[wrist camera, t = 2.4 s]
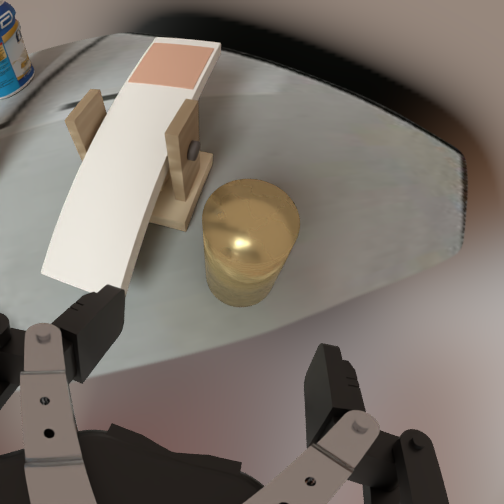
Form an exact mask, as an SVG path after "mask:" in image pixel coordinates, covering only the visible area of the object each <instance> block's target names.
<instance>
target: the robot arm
mask: <svg viewBox="0 0 504 504" xmlns="http://www.w3.org/2000/svg"><path fill="white" fill-rule="evenodd" d="M124 310H125V290H124V289H121V288H118V287H115V286H112V285H109V284H107V285H105V286H104V287H103V288H102V289H101V290H100V291H99V292H97V293H96V292H91V293H89V294H86V295H83V296H82V297H81V298H80V299H79V300H77V301H76V303H74V304H73V305H72V306H70V308H68V309H67V310H66V311H65V312H64V313H63V314H61V315H60V316H59V317H58V318H57V319H56V320H55V321H54V322H53V323H51V324H49V323H39V324H35V325H33V326H31V327H29V328H28V329H27V331H24V330H19V329H14V328H10V324H9V320H8V318H7V317H6V316H5V315H4V314H1V313H0V410H1V408H2V407H3V406H4V404H5V403H6V401H7V400H8V399H9V398H10V396H11V395H12V394H13V393H14V391H15V390H16V389H17V387H18V386H19V385H20V395H21V396H20V397H21V417H22V429H23V430H22V431H23V440H24V449H21V450H18V451H14V452H11V453H7V454H4V455H0V504H327V503H328V502H329V501H330V499H331V498H332V497H333V496H334V495H335V494H336V492H337V491H338V490H339V489H340V487H341V486H342V485H343V484H344V483H345V481H346V480H350V481H353V482H356V483H359V484H362V485H363V497H364V504H449V502H448V497H447V493H446V490H445V486H444V482H443V478H442V475H441V471H440V467H439V464H438V461H437V457H436V454H435V450H434V447H433V444H432V441H431V440H430V438H429V437H428V436H427V435H426V434H424V433H423V432H420V431H418V430H415V429H410V430H406V431H404V432H403V433H402V434H401V436H400V437H398V436H395V435H391V434H389V433H386V432H383V431H381V430H380V427H379V424H378V422H377V421H376V419H375V418H374V417H373V416H371V415H370V414H368V413H366V411H365V407H364V403H363V399H362V395H361V391H360V388H359V383H358V381H357V376H356V372H355V369H354V368H353V367H352V365H351V364H350V363H349V361H346V360H342V356H341V352H340V348H339V347H338V346H333V345H328V344H323V343H321V344H320V345H319V346H318V348H317V351H316V353H315V355H314V357H313V360H312V362H311V364H310V366H309V368H308V371H307V373H306V376H305V381H304V396H305V416H306V440H307V448H308V449H307V450H305V451H304V452H303V453H302V454H301V455H300V456H299V457H298V458H297V459H296V460H295V461H293V462H292V463H291V464H290V465H289V466H288V467H287V468H286V469H285V470H283V471H282V472H281V473H280V474H279V475H278V476H276V477H275V478H274V479H273V480H272V481H270V482H269V483H268V484H267V485H266V486H264V485H262V484H261V483H260V482H259V481H257V480H256V479H254V478H253V477H251V476H249V475H247V474H246V473H243V472H241V471H240V469H241V464H242V463H241V462H237V461H232V460H228V459H224V458H219V457H215V456H211V455H199V454H186V453H175V452H171V451H169V450H167V449H166V448H164V447H162V446H160V445H158V444H156V443H155V442H153V441H152V440H150V439H148V438H147V437H145V436H143V435H141V434H138V433H135V432H133V431H130V430H128V429H125V428H123V427H120V426H118V425H115V424H111V426H110V428H109V430H108V431H103V430H83V431H78V428H77V424H76V420H75V415H74V410H73V405H72V399H71V394H70V389H69V383H70V382H71V381H72V380H75V381H77V382H80V383H83V382H84V381H85V380H86V378H87V377H88V376H89V374H90V373H91V372H92V370H93V369H94V368H95V366H96V365H97V364H98V362H99V361H100V360H101V358H102V357H103V356H104V355H105V353H106V352H107V351H108V349H109V348H110V347H111V345H112V344H113V343H114V342H115V340H116V339H117V338H118V336H119V335H120V333H121V331H122V329H123V325H124Z"/></svg>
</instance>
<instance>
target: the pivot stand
mask: <svg viewBox="0 0 504 504" xmlns="http://www.w3.org/2000/svg"><path fill="white" fill-rule="evenodd" d="M106 115H107V113H106V110H105V106H104V103H103V99H102V95H101V92H100V90H98V89H90V90H89V92H88V93H87V94H86V95H85V96H84V97H83V99H82V100H81V101H80V102H79V103H78V104H77V106H76V107H75V108H74V109H73V111H72V112H71V113H70V114H69V116H68V117H67V118H66V119H65V123H66V125H67V127H68V130H69V132H70V135H71V137H72V139H73V142H74V144H75V146H76V148H77V151H78V153H79V155H80V157H81V160H82V162H83V159H84V157H85V155H86V153H87V151H88V149H89V147H90V145H91V143H92V141H93V139H94V137H95V135H96V133H97V131H98V129H99V127H100V126H101V124H102V122H103V120H104V118H105V116H106ZM164 134H165V141H166V148H167V155H168V161H169V169H168V172H167V174H166V177H165V179H164V182H163V185H162V187H161V190H160V193H159V195H158V198H157V201H156V204H155V206H154V209H153V212H152V215H151V218H150V221H149V222H150V223H154V224H158V225H162V226H166V227H170V228H174V229H177V230H181V231H185V232H186V230H187V228H188V225H189V222H190V220H191V217H192V214H193V212H194V209H195V207H196V204H197V202H198V199H199V196H200V194H201V191H202V189H203V186H204V184H205V181H206V179H207V176H208V174H209V172H210V169H211V167H212V164H213V154H212V153H207V152H202V151H200V142H199V111H198V101H197V100H191V99H185V101H184V102H183V104H182V105H181V107H180V109H179V110H178V112H177V113H176V115H175V117H174V118H173V120H172V122H171V123H170V125H169V127H168V128H167V130H166V132H165V133H164Z"/></svg>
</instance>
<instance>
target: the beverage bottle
mask: <svg viewBox="0 0 504 504" xmlns="http://www.w3.org/2000/svg"><path fill="white" fill-rule="evenodd" d="M15 13H16V12H15V10H14V8H13V7H12V6H11V5H10V4H8V3H7V2H5V1H3V0H0V99H5V98H8V97H10V96H12V95H14V94H16V93H17V92H19V91H20V90H22V89H23V88H24V87H25V86H26V85H27V84H28V83H29V82H30V81H31V80H32V78H33V76H34V68H33V66H32V64H31V62H30V59H29V57H28V54H27V51H26V48H25V45H24V41H23V38H22V35H21V32H20V28H21V26H20V23H19V21H17V20H16V19H15Z"/></svg>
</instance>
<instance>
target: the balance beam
mask: <svg viewBox="0 0 504 504" xmlns="http://www.w3.org/2000/svg"><path fill="white" fill-rule="evenodd" d="M220 54H221V43H216V42H208V41H199V40H189V39H178V38H163V37H156V38H155V39H154V41H153V42H152V43H151V45H150V46H149V48H148V49H147V50H146V52H145V53H144V55H143V56H142V58H141V59H140V61H139V62H138V64H137V65H136V67H135V68H134V70H133V71H132V73H131V74H130V76H129V77H128V79H127V81H126V82H125V84H124V85H123V87H122V89H121V90H120V92H119V94H118V95H117V97H116V99H115V101H114V102H113V104H112V106H111V107H110V109H109V111H108V113H107V115H106V116H105V118H104V120H103V122H102V124H101V126H100V127H99V129H98V131H97V133H96V135H95V137H94V139H93V141H92V143H91V145H90V147H89V149H88V151H87V153H86V155H85V157H84V159H83V162H82V164H81V166H80V168H79V170H78V173H77V175H76V177H75V179H74V182H73V184H72V186H71V189H70V191H69V193H68V196H67V198H66V201H65V203H64V206H63V208H62V211H61V214H60V216H59V219H58V222H57V224H56V227H55V230H54V233H53V236H52V239H51V242H50V245H49V248H48V251H47V254H46V257H45V260H44V264H43V267H42V270H41V274H44V275H46V276H49V277H51V278H54V279H56V280H59V281H61V282H64V283H67V284H69V285H72V286H75V287H77V288H80V289H83V290H85V291H88V292H96V293H97V292H99V291H100V290H101V289H102V288H103V287H104V286H105V285H107V284H109V285H112V286H115V287H118V288H121V289H124V290H125V297H126V294H127V290H128V287H129V283H130V280H131V277H132V273H133V270H134V267H135V263H136V260H137V257H138V254H139V251H140V247H141V244H142V241H143V238H144V235H145V232H146V229H147V226H148V223H149V221H150V218H151V215H152V212H153V209H154V206H155V204H156V201H157V198H158V195H159V193H160V190H161V187H162V185H163V182H164V179H165V177H166V174H167V172H168V169H169V161H168V155H167V148H166V141H165V134H164V133H165V132H166V130H167V128H168V127H169V125H170V123H171V122H172V120H173V118H174V117H175V115H176V113H177V112H178V110H179V109H180V107H181V105H182V104H183V102H184V101H185V99H191V100H197V101H198V99H199V97H200V95H201V93H202V91H203V89H204V87H205V84H206V82H207V80H208V78H209V76H210V74H211V72H212V70H213V68H214V66H215V64H216V62H217V60H218V58H219V56H220Z"/></svg>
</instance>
